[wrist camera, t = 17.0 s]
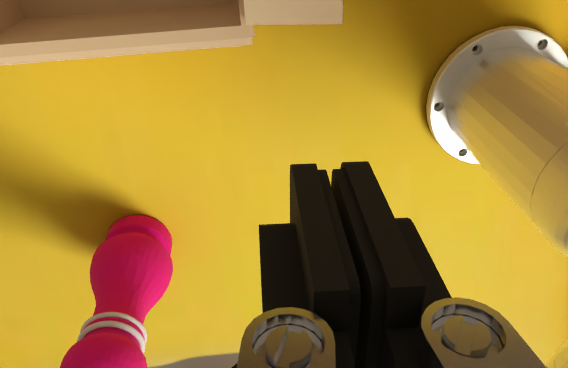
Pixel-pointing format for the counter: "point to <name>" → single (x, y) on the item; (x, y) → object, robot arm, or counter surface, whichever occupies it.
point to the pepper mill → (123, 294)
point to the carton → (116, 28)
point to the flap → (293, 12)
